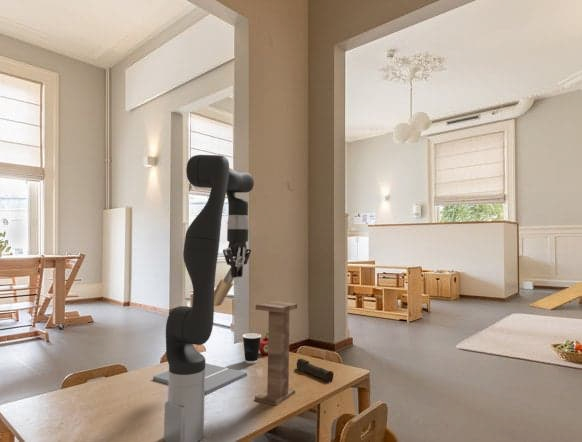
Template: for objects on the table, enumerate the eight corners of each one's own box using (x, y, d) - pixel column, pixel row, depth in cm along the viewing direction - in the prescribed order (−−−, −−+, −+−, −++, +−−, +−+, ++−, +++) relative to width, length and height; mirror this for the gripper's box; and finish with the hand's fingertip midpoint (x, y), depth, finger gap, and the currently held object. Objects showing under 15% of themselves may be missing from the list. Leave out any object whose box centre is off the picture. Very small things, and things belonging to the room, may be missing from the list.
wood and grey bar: (208, 301, 144) (213, 306, 142) (232, 259, 139) (238, 264, 138) (215, 299, 147) (220, 305, 146) (239, 258, 143) (245, 263, 141)
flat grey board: (206, 394, 130) (206, 390, 130) (153, 379, 144) (153, 376, 144) (246, 375, 149) (246, 372, 149) (196, 364, 163) (196, 360, 163)
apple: (270, 356, 175) (270, 333, 175) (255, 355, 176) (255, 333, 176) (273, 351, 182) (274, 330, 183) (259, 351, 183) (259, 329, 184)
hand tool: (334, 381, 145) (334, 368, 146) (326, 383, 143) (326, 370, 143) (302, 368, 161) (302, 356, 161) (294, 369, 158) (294, 357, 158)
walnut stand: (278, 406, 122) (279, 308, 124) (252, 399, 127) (253, 305, 129) (297, 393, 132) (298, 303, 134) (272, 387, 137) (274, 300, 139)
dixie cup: (259, 358, 172) (259, 332, 172) (262, 364, 164) (262, 337, 164) (241, 359, 170) (241, 333, 170) (242, 365, 162) (243, 338, 163)
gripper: (233, 227, 133) (232, 279, 132) (257, 229, 145) (256, 276, 144) (216, 227, 137) (215, 277, 136) (241, 229, 149) (240, 275, 148)
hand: (236, 276), depth 140 cm, fingers closed on wood and grey bar, 2 cm apart
